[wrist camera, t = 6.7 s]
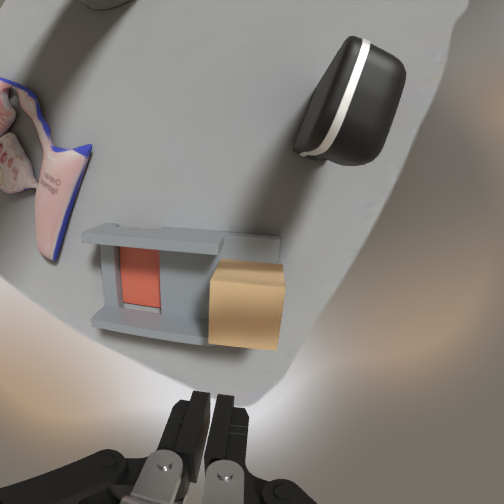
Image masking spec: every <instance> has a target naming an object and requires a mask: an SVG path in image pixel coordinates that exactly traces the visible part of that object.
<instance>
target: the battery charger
mask: <svg viewBox="0 0 504 504" xmlns="http://www.w3.org/2000/svg"><path fill="white" fill-rule="evenodd" d="M405 80H406V71H405V68H404V65H403V64H402V62H401V61H400V60H399V59H398V58H396V57H395V56H393V55H392V54H390V53H388V52H386V51H384V50H382V49H380V48H378V47H376V46H374V45H373V44H370V41H368V40H366V39H364V38H361V39H360V38H358V37H355V36H349V37H348V38H347V39H346V40H345V42H344V43H343V45H342V46H341V48H340V49H339V51H338V52H337V54H336V56H335V57H334V59H333V60H332V62H331V64H330V65H329V67H328V69H327V70H326V72H325V74H324V75H323V77H322V78H321V80H320V82H319V83H318V85H317V88H316V90H315V93H314V95H313V97H312V100H311V103H310V105H309V108H308V110H307V113H306V115H305V118H304V120H303V123H302V125H301V128H300V130H299V133H298V135H297V138H296V140H295V143H294V145H293V151H294V152H296V153H298V154H299V155H300V156H303V157H304V156H305V157H308V158H310V159H314V160H326V159H327V160H329V161H332V162H334V163H336V164H339V165H343V166H358V165H364V164H366V163H369V162H371V161H373V160H374V159H375V158H376V157H377V156H378V155H379V154H380V152H381V150H382V148H383V146H384V144H385V141H386V138H387V136H388V133H389V130H390V127H391V125H392V122H393V119H394V116H395V113H396V110H397V107H398V104H399V101H400V98H401V95H402V91H403V88H404V85H405Z"/></svg>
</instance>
